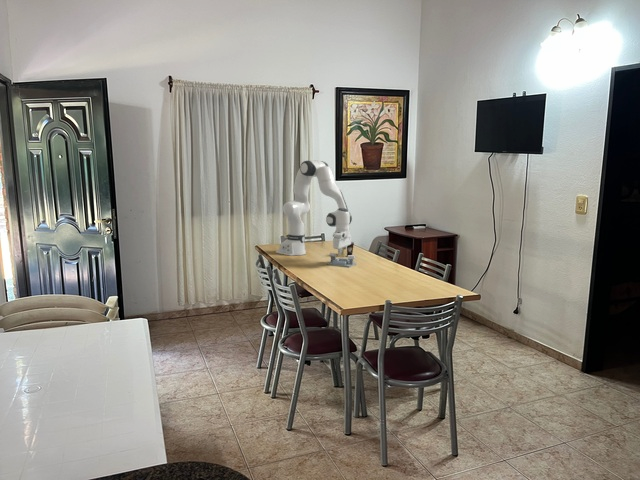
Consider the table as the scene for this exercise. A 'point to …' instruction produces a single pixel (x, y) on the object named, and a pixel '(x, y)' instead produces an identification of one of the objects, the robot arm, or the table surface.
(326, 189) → the robot arm
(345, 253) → the coupler
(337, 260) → the shaft rig
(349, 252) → the coffee mug
